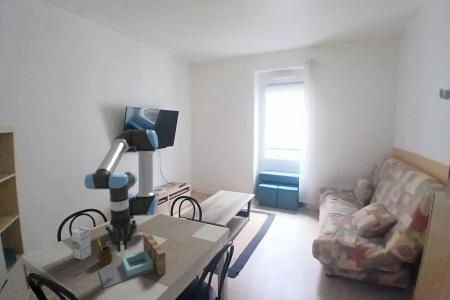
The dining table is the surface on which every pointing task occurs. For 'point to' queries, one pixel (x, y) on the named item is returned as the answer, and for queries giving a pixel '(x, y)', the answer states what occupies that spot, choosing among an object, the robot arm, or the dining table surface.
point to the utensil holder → (105, 254)
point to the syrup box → (81, 243)
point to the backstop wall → (155, 253)
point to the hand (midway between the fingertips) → (122, 256)
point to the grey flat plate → (119, 273)
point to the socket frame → (138, 268)
